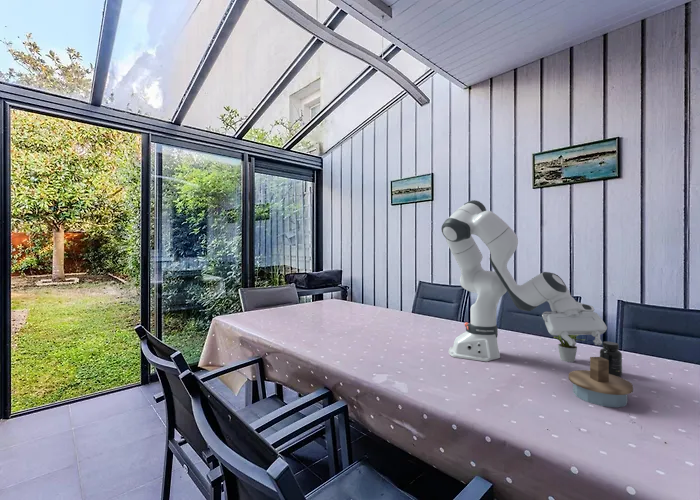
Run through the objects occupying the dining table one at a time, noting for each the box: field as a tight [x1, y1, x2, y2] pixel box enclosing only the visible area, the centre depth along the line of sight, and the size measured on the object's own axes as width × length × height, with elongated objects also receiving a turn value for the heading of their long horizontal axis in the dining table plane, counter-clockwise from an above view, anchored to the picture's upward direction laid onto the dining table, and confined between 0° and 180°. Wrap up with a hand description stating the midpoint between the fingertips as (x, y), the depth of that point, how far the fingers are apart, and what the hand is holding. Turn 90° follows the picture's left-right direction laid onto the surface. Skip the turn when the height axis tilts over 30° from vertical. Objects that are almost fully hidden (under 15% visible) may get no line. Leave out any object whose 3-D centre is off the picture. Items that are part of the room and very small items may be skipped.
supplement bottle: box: [599, 340, 623, 377], centre depth 129 cm, size 7×7×12 cm
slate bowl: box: [572, 383, 629, 408], centre depth 110 cm, size 14×14×4 cm
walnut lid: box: [568, 356, 634, 395], centre depth 110 cm, size 17×17×8 cm
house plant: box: [552, 335, 586, 363], centre depth 144 cm, size 14×14×16 cm
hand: (586, 344), depth 116 cm, fingers open, 8 cm apart
